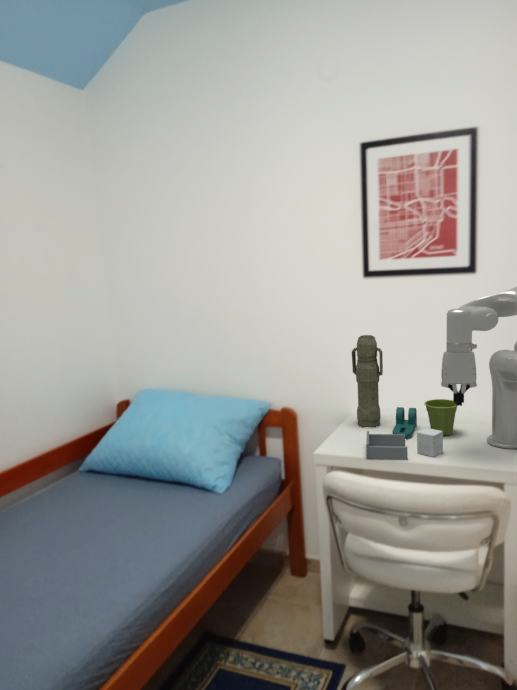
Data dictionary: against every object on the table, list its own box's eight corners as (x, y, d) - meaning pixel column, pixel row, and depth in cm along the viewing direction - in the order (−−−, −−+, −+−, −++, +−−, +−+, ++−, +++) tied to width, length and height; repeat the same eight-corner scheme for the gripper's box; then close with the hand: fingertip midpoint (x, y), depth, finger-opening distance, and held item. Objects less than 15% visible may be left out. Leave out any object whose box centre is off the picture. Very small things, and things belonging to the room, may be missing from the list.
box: (405, 445, 186) (405, 431, 185) (407, 459, 172) (407, 444, 172) (367, 445, 188) (366, 431, 188) (366, 458, 175) (366, 444, 174)
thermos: (356, 420, 218) (354, 334, 213) (386, 422, 213) (384, 334, 208) (351, 426, 210) (348, 337, 205) (381, 429, 205) (379, 337, 200)
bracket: (398, 424, 210) (398, 405, 209) (416, 426, 207) (416, 406, 206) (391, 439, 194) (390, 418, 192) (410, 440, 191) (410, 419, 190)
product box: (433, 457, 173) (433, 435, 172) (416, 453, 178) (416, 431, 177) (443, 452, 177) (443, 431, 176) (426, 448, 182) (426, 427, 181)
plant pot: (425, 427, 204) (424, 398, 202) (458, 429, 200) (458, 399, 198) (423, 437, 193) (423, 406, 191) (459, 439, 189) (459, 408, 187)
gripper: (482, 346, 173) (481, 402, 175) (433, 346, 176) (432, 401, 178) (486, 349, 165) (485, 408, 168) (435, 350, 168) (435, 407, 171)
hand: (458, 404), depth 173 cm, fingers closed
